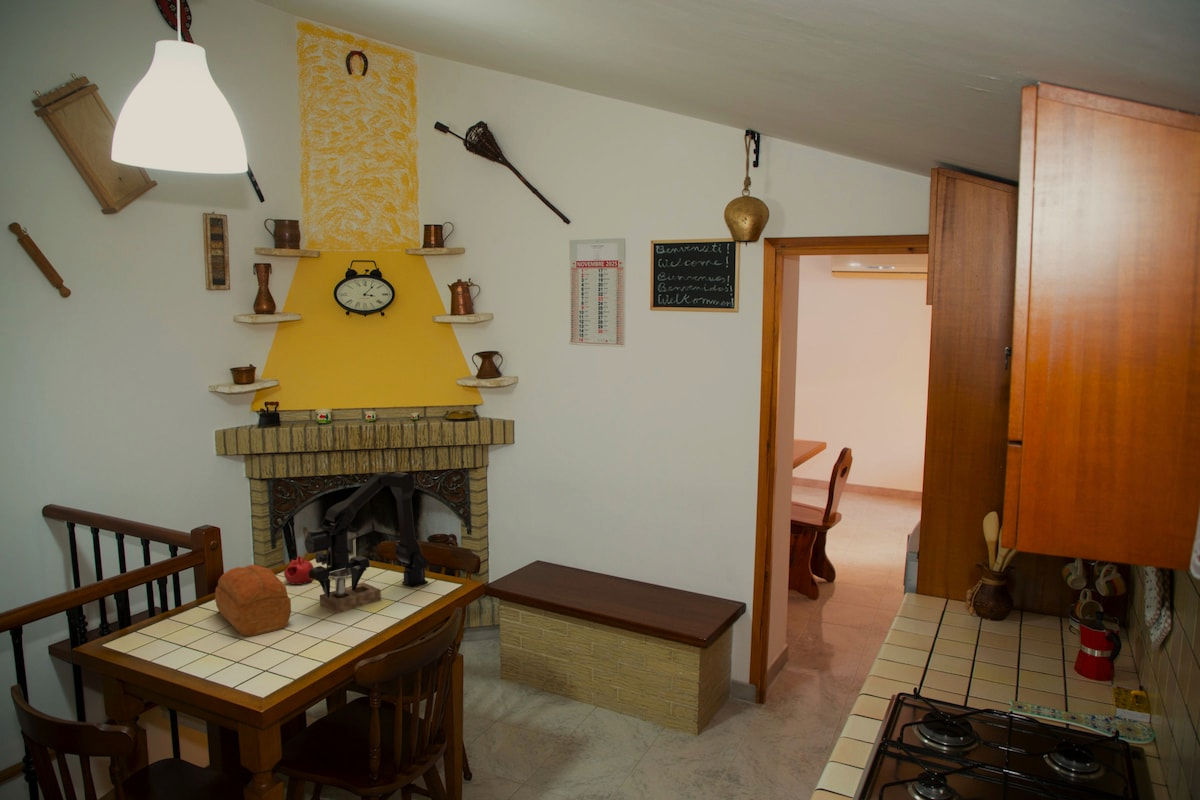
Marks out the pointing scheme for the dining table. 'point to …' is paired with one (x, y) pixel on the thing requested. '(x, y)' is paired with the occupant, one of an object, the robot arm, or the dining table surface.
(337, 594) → the peg
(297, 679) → the dining table surface
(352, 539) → the coffee can
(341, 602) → the socket block
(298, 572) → the pomegranate
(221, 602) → the bread
